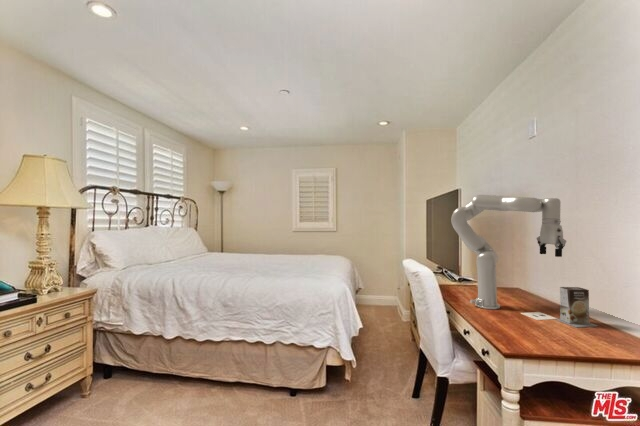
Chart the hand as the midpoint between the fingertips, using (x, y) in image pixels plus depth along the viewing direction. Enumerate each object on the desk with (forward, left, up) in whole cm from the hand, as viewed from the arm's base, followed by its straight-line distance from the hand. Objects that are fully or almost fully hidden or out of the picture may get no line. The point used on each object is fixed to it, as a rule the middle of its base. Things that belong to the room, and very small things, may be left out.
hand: (550, 255), depth 159 cm
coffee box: (+2, -11, -31) cm, 33 cm away
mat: (+2, -11, -31) cm, 33 cm away
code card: (-7, +1, -31) cm, 32 cm away
